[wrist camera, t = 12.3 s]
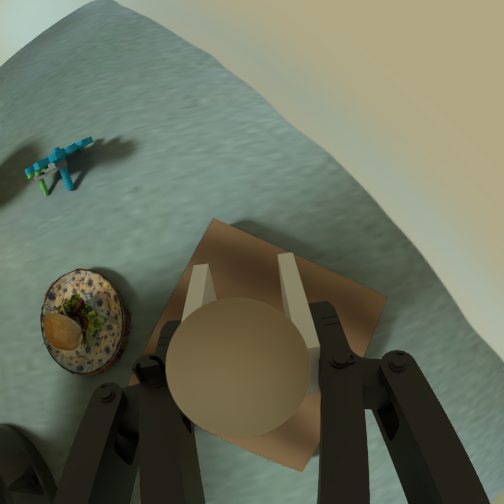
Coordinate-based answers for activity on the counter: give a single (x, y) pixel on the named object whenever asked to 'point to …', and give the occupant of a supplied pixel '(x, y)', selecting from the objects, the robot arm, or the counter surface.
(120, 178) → the counter surface
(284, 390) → the long maple pin
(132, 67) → the counter surface
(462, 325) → the counter surface
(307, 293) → the walnut hole board
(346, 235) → the counter surface
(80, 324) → the burger
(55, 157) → the gear
